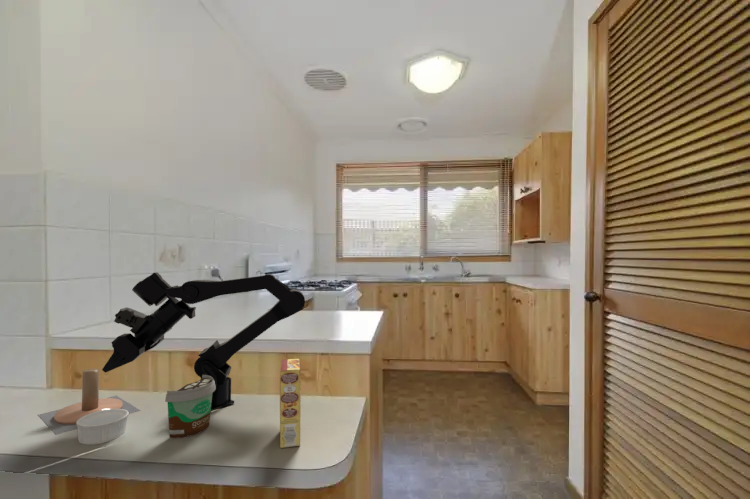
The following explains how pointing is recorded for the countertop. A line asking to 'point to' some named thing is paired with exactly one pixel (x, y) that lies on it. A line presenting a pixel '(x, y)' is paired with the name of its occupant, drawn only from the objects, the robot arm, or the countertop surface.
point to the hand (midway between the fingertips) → (112, 365)
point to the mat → (61, 428)
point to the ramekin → (102, 426)
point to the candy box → (290, 403)
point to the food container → (190, 408)
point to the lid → (87, 400)
